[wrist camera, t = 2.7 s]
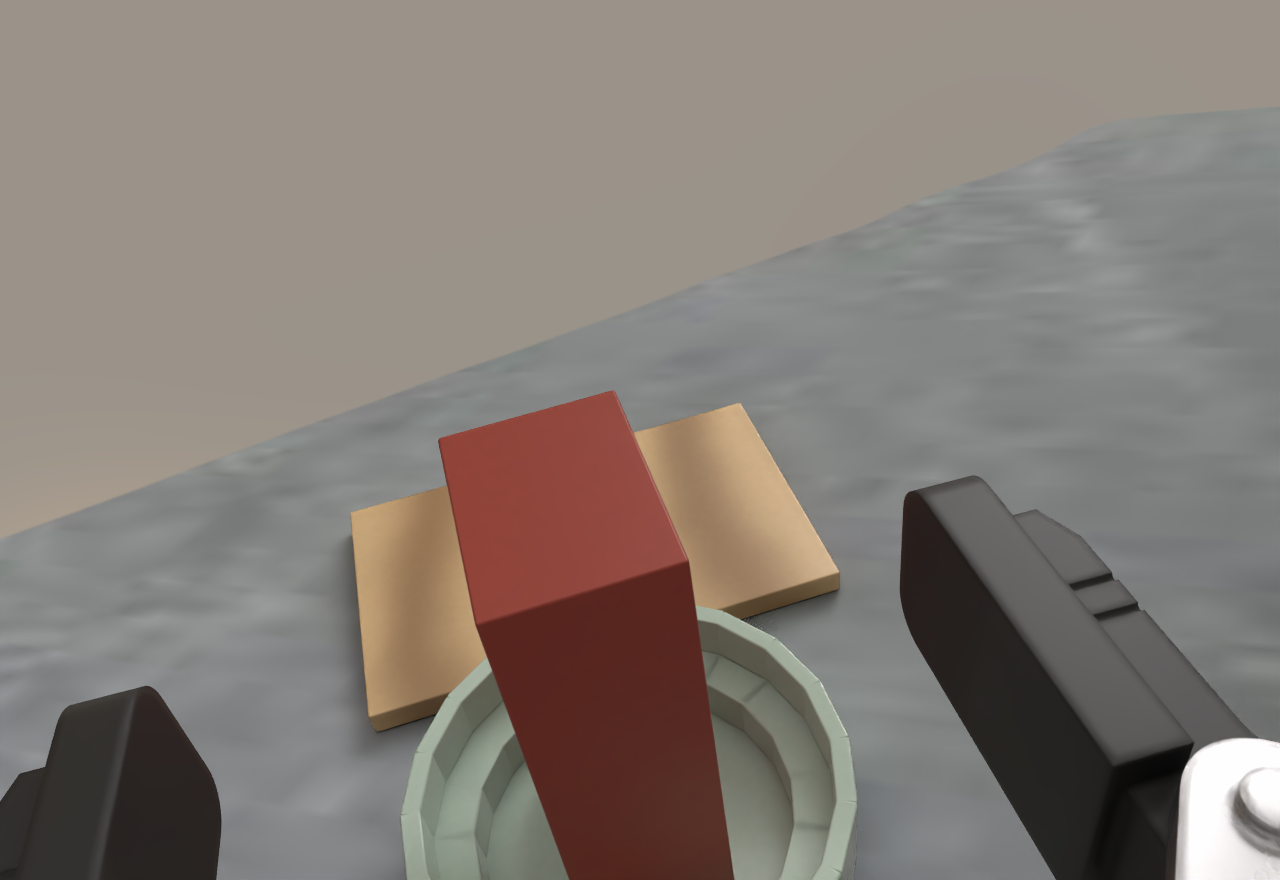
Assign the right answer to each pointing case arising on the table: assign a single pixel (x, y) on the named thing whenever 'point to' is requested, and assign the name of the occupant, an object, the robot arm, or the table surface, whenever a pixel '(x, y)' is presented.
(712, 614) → the bowl
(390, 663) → the board
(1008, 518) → the robot arm
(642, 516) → the red rectangular block
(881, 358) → the table surface
